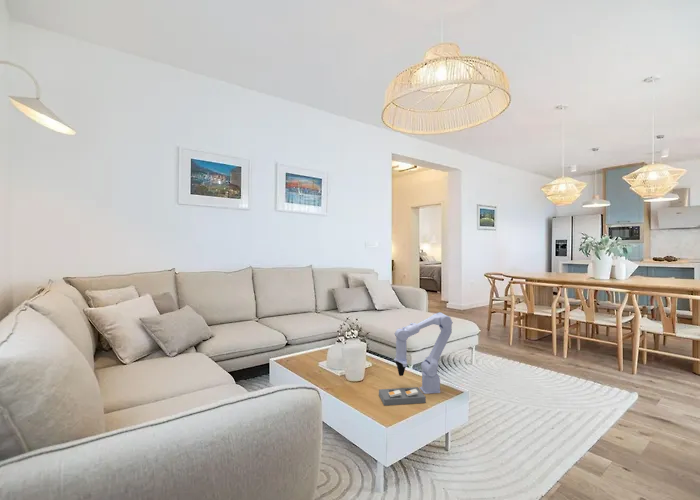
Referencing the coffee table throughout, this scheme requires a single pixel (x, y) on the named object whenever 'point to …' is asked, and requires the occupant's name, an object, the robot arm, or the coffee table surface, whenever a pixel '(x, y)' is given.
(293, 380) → the coffee table surface
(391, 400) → the grey switch panel
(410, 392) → the rocker
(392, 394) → the rocker
